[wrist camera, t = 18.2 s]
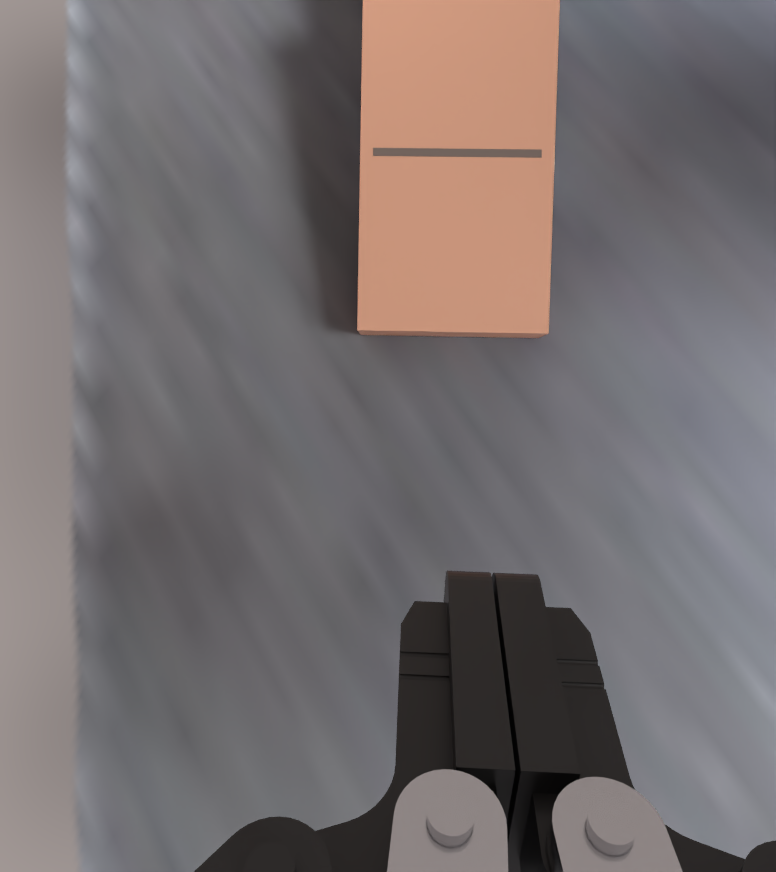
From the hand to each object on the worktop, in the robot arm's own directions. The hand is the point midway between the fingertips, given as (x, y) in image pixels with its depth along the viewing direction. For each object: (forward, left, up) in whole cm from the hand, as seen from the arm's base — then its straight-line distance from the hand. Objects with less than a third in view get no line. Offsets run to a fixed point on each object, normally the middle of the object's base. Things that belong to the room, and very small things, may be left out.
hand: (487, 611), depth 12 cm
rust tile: (-4, -8, -9) cm, 13 cm away
